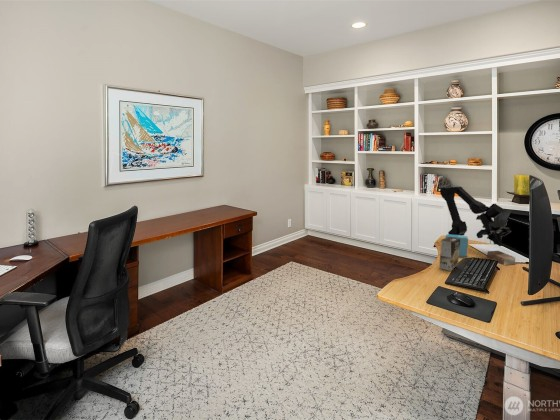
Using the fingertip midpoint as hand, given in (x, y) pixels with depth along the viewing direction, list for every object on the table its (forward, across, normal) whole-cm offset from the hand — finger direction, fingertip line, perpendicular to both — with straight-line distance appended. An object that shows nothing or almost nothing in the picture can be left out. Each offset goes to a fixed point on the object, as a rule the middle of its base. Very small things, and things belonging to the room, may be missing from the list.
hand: (500, 245), depth 193 cm
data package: (-3, -18, +16) cm, 24 cm away
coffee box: (+9, -35, +4) cm, 36 cm away
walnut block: (+1, 0, +8) cm, 9 cm away
